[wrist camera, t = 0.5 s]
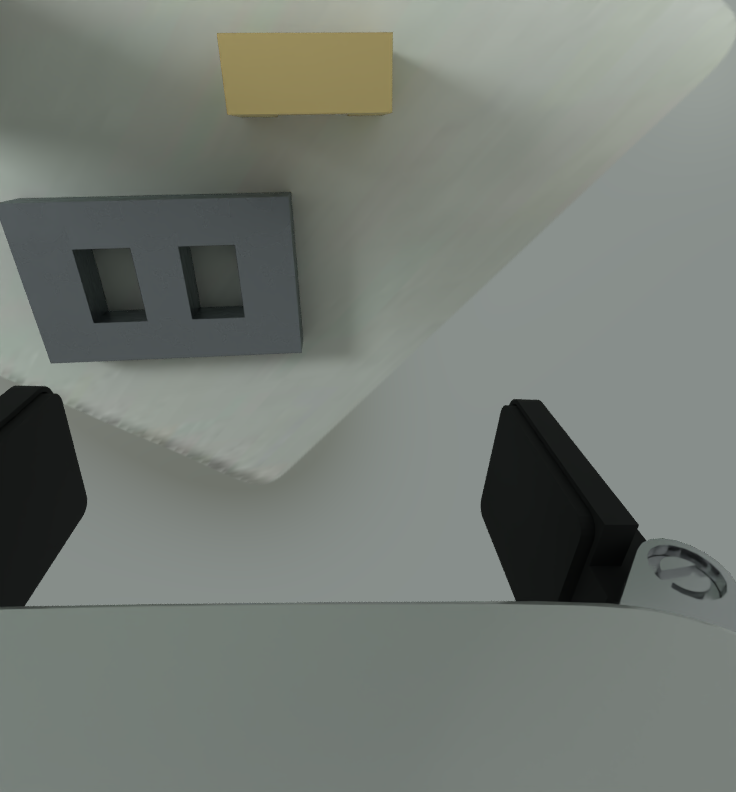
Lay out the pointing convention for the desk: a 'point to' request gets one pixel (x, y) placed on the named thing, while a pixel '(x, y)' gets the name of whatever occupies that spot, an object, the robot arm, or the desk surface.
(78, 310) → the grey slotted board
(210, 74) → the desk surface
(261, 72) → the yellow u-shaped block
